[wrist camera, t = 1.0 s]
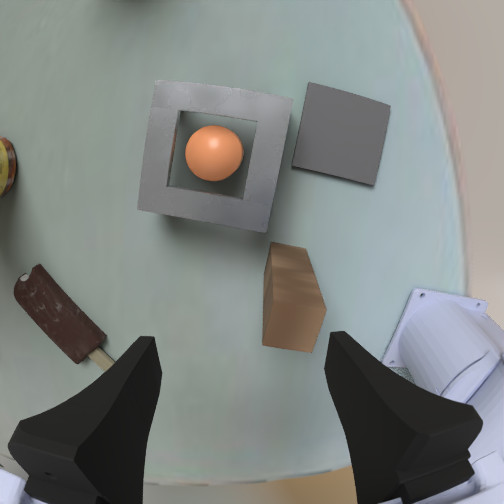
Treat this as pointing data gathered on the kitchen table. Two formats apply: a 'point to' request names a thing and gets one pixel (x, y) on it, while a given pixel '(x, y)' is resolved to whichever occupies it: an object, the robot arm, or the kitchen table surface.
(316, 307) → the stylus stick
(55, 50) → the kitchen table surface
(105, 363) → the ice cream bar
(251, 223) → the guard frame
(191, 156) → the button
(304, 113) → the pad
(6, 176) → the sauce bottle
